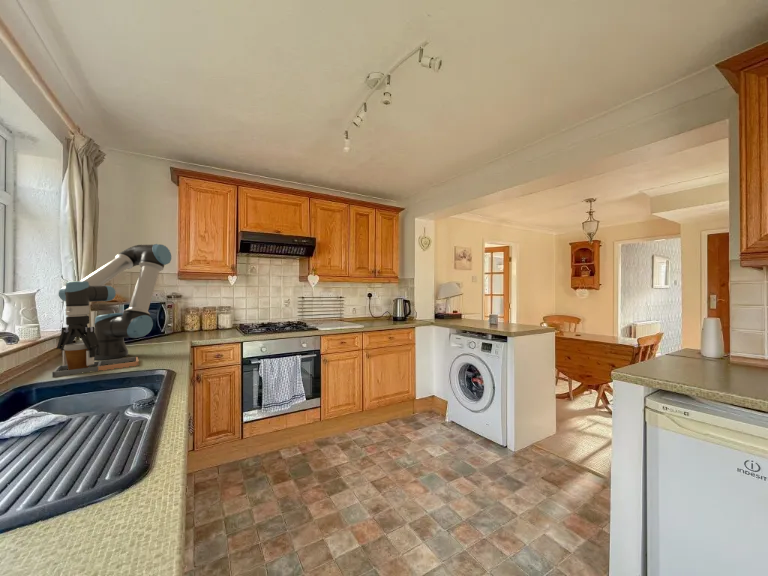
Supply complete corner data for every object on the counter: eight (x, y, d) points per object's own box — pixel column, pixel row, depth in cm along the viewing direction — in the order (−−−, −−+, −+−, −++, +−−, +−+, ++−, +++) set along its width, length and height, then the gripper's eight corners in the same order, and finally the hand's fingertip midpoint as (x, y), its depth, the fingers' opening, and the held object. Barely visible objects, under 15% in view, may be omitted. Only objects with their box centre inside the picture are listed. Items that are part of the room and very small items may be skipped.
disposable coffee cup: (94, 370, 143) (93, 343, 143) (64, 374, 136) (63, 346, 136) (91, 367, 149) (91, 341, 149) (63, 371, 142) (62, 344, 142)
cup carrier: (58, 370, 144) (58, 365, 144) (137, 360, 162) (137, 356, 162) (52, 377, 132) (52, 372, 132) (138, 365, 150) (138, 361, 150)
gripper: (44, 316, 140) (45, 366, 140) (93, 316, 138) (93, 367, 138) (63, 315, 148) (64, 362, 148) (109, 314, 145) (110, 362, 145)
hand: (78, 364), depth 143 cm, fingers open, 11 cm apart
